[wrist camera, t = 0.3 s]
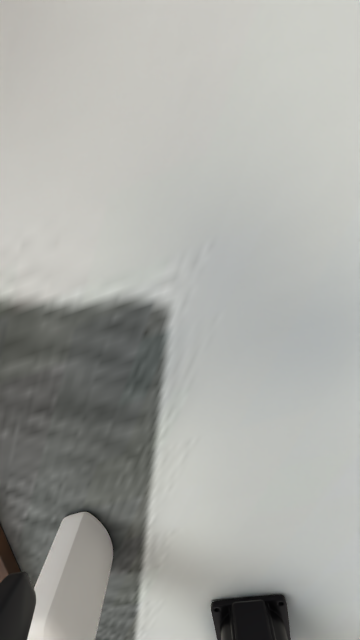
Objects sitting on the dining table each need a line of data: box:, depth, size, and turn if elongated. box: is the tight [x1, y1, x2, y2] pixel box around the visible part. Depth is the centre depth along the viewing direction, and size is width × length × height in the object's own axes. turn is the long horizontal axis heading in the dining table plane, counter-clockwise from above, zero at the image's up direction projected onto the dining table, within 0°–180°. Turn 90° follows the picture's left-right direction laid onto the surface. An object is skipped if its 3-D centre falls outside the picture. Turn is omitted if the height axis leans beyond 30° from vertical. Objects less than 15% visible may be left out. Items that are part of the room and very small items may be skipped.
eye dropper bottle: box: [27, 512, 113, 640], centre depth 21 cm, size 4×6×12 cm
